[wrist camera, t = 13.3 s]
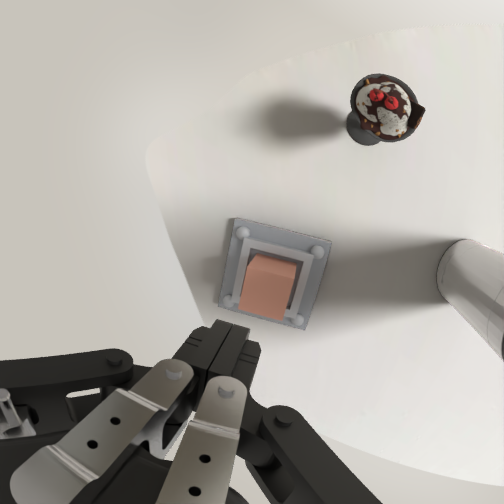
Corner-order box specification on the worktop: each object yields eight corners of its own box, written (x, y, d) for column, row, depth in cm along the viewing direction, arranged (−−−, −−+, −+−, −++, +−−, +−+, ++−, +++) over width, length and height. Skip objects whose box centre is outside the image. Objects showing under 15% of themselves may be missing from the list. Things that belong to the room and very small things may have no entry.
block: (296, 263, 36) (294, 279, 30) (286, 300, 37) (282, 321, 31) (257, 252, 36) (247, 266, 30) (248, 289, 38) (237, 308, 32)
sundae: (328, 119, 32) (340, 78, 18) (368, 91, 30) (402, 41, 16) (361, 163, 32) (397, 150, 18) (401, 134, 30) (455, 108, 16)
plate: (331, 241, 35) (332, 245, 33) (305, 326, 39) (304, 333, 36) (237, 217, 37) (232, 219, 35) (220, 302, 40) (215, 309, 38)
